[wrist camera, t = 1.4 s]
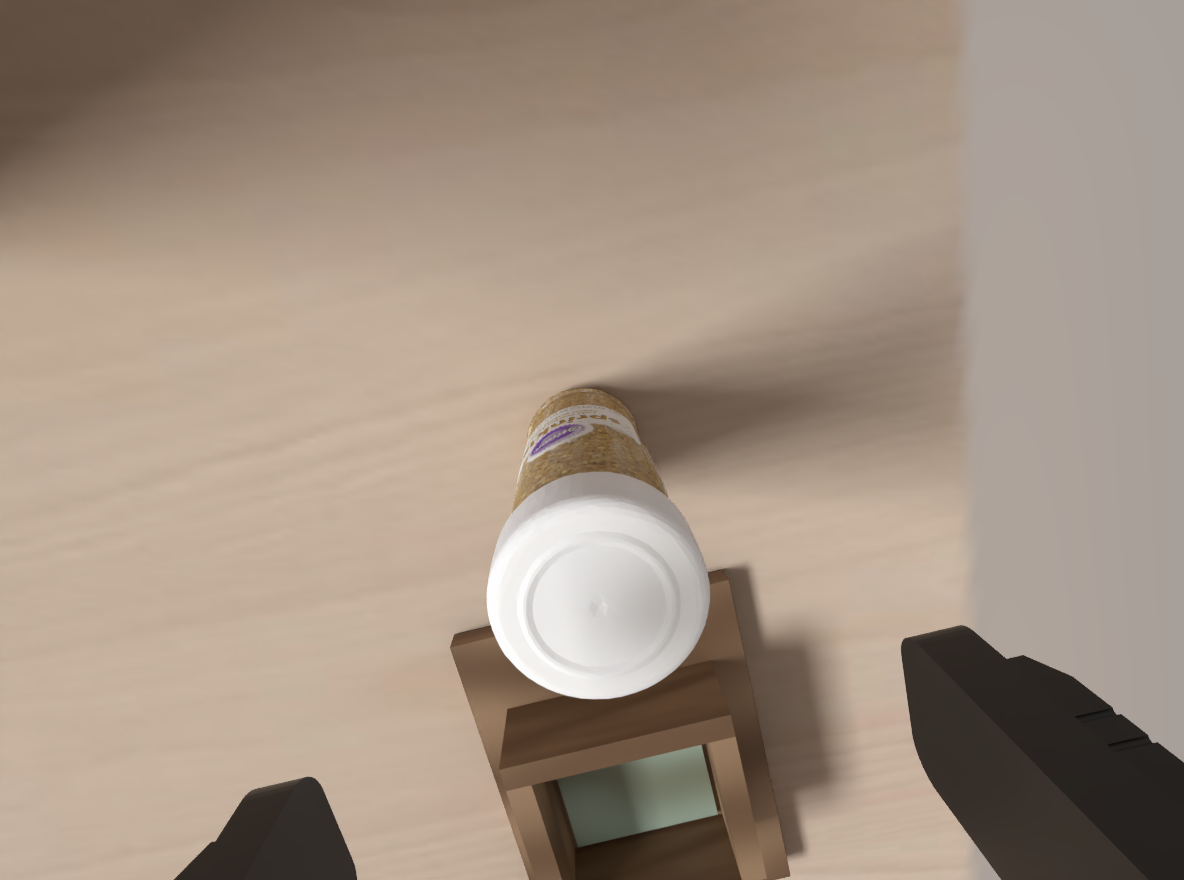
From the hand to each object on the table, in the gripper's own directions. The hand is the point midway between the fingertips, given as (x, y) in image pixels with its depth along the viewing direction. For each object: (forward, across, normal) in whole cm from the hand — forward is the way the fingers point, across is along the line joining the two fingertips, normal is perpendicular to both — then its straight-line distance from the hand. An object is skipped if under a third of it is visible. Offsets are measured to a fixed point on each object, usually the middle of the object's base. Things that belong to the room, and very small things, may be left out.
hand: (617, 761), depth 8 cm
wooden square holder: (+18, +2, +15) cm, 23 cm away
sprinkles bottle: (+18, 0, 0) cm, 18 cm away
